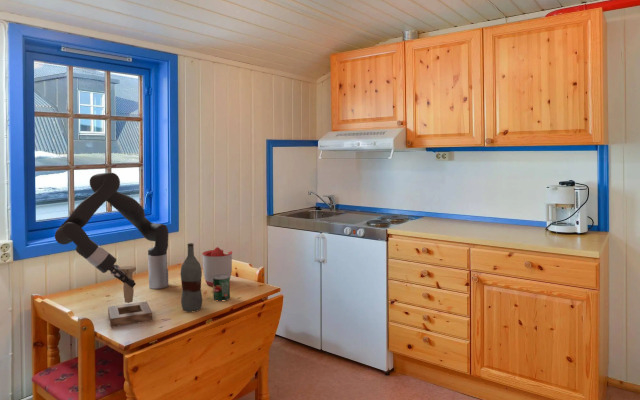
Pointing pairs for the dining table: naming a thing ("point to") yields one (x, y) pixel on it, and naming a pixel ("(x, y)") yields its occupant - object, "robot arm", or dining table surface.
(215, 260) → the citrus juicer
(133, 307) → the holder
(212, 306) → the dining table surface
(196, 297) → the bottle
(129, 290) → the handle
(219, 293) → the canned tomato
